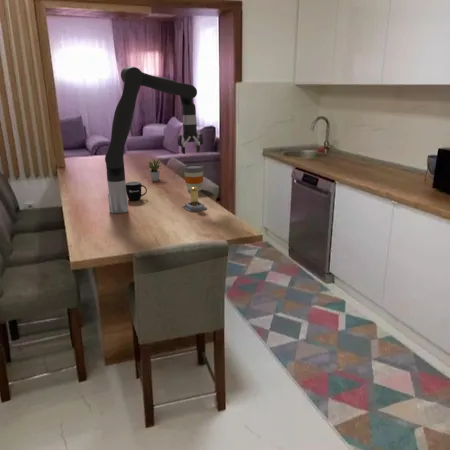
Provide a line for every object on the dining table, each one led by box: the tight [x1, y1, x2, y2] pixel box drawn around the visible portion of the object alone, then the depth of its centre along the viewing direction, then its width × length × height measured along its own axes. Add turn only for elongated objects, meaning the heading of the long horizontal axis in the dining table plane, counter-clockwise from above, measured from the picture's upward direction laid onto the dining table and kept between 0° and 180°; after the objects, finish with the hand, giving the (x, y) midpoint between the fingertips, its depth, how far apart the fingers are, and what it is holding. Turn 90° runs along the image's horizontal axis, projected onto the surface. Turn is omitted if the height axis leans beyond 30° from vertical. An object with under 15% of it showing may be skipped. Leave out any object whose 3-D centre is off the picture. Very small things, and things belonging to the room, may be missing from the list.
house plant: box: [145, 157, 163, 182], centre depth 303 cm, size 14×14×16 cm
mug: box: [126, 180, 148, 202], centre depth 256 cm, size 12×9×10 cm
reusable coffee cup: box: [183, 164, 205, 192], centre depth 275 cm, size 13×13×15 cm
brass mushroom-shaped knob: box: [190, 187, 199, 206], centre depth 236 cm, size 5×5×11 cm
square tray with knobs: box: [182, 200, 208, 213], centre depth 237 cm, size 10×10×3 cm
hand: (190, 153), depth 242 cm, fingers open, 8 cm apart
